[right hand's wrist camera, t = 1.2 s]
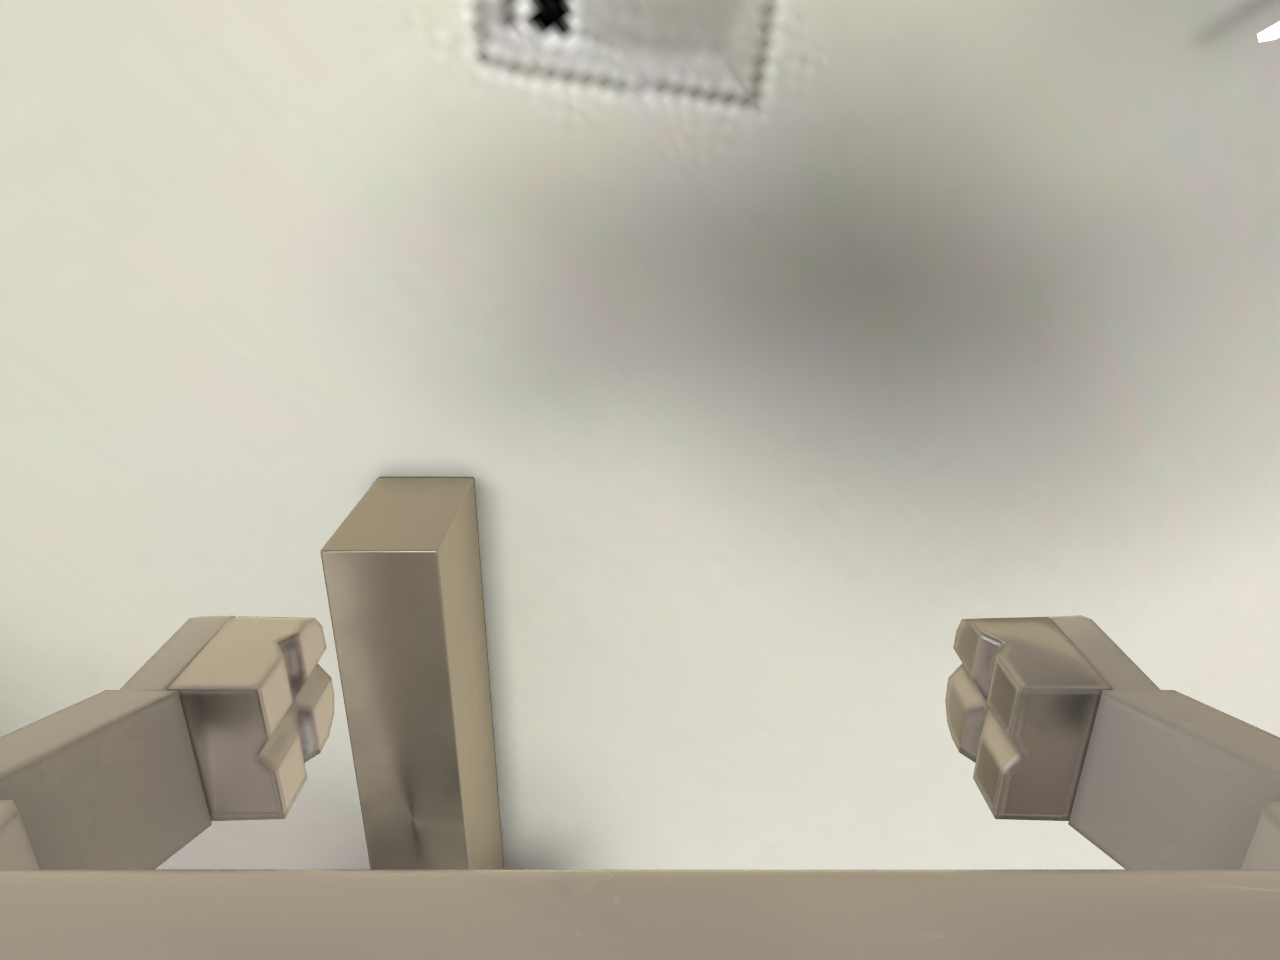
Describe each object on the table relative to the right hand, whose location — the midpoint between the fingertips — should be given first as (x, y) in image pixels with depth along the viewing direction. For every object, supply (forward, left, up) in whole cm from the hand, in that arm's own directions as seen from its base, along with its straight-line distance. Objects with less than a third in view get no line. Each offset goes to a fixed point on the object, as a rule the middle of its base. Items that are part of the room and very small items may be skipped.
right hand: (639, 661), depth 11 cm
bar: (+20, +15, -29) cm, 38 cm away
